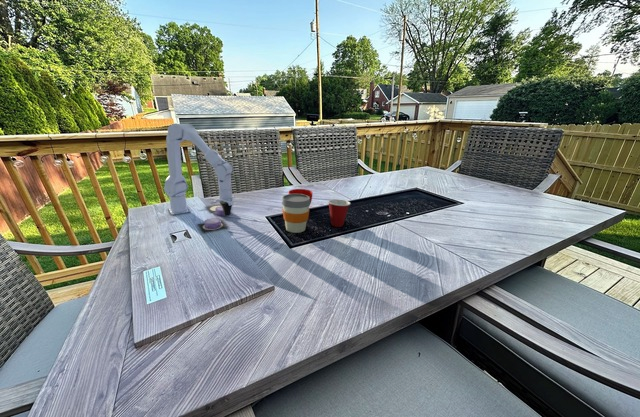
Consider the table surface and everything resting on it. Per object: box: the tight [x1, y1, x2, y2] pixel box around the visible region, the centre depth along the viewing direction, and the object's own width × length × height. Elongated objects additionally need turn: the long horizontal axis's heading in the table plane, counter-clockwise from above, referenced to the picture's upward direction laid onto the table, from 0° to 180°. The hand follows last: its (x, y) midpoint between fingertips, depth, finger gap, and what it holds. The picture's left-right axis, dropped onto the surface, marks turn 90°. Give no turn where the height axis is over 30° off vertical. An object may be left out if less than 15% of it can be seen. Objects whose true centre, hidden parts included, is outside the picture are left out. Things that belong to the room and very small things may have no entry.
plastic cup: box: [327, 198, 351, 228], centre depth 125 cm, size 11×11×12 cm
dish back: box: [215, 206, 225, 216], centre depth 134 cm, size 7×7×3 cm
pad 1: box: [205, 204, 221, 214], centre depth 140 cm, size 10×10×1 cm
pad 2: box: [197, 220, 228, 234], centre depth 118 cm, size 10×10×1 cm
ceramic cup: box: [288, 188, 313, 207], centre depth 141 cm, size 13×17×10 cm
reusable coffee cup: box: [281, 193, 311, 234], centre depth 118 cm, size 13×12×15 cm
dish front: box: [203, 217, 222, 229], centre depth 118 cm, size 7×7×2 cm
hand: (227, 215), depth 128 cm, fingers closed
